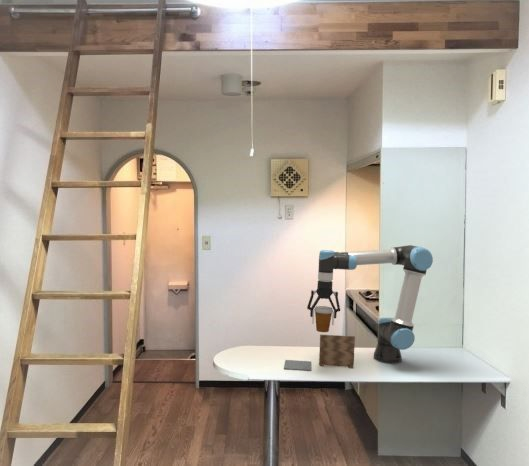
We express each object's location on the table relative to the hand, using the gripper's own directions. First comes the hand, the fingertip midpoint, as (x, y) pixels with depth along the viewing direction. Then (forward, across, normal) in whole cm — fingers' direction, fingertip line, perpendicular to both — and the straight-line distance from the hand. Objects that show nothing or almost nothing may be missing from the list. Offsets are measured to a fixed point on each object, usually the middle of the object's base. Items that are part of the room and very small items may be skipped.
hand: (322, 323), depth 250 cm
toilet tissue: (+23, -6, -27) cm, 36 cm away
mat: (+23, +12, -2) cm, 26 cm away
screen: (+23, -8, -6) cm, 25 cm away
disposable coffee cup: (+4, 0, 0) cm, 4 cm away
